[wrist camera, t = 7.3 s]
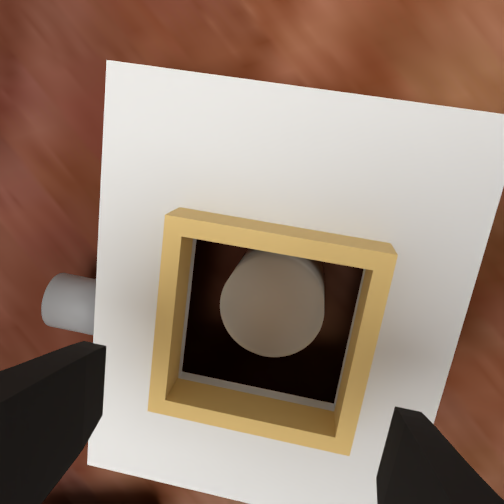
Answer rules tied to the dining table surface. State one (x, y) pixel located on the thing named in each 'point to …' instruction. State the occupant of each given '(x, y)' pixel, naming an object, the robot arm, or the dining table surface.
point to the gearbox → (282, 242)
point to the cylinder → (273, 303)
